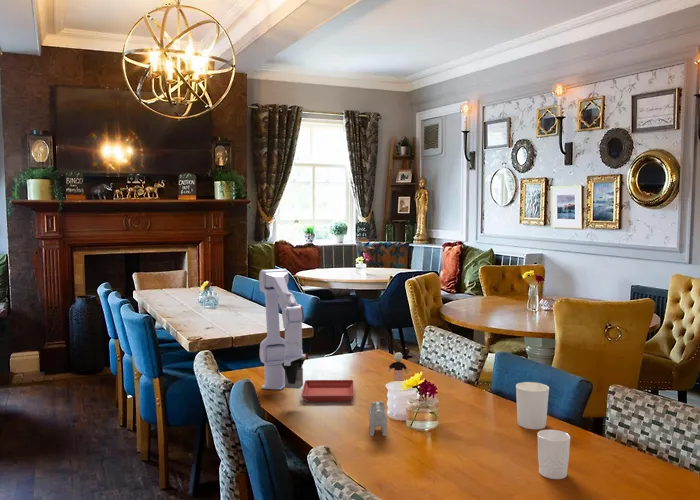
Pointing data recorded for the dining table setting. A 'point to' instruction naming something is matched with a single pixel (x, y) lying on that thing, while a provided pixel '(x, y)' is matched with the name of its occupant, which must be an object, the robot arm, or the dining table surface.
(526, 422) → the candle holder
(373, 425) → the dog figurine
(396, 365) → the grandmother figurine
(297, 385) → the charcoal block
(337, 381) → the plant saucer
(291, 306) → the robot arm
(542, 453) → the white cup
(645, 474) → the dining table surface
